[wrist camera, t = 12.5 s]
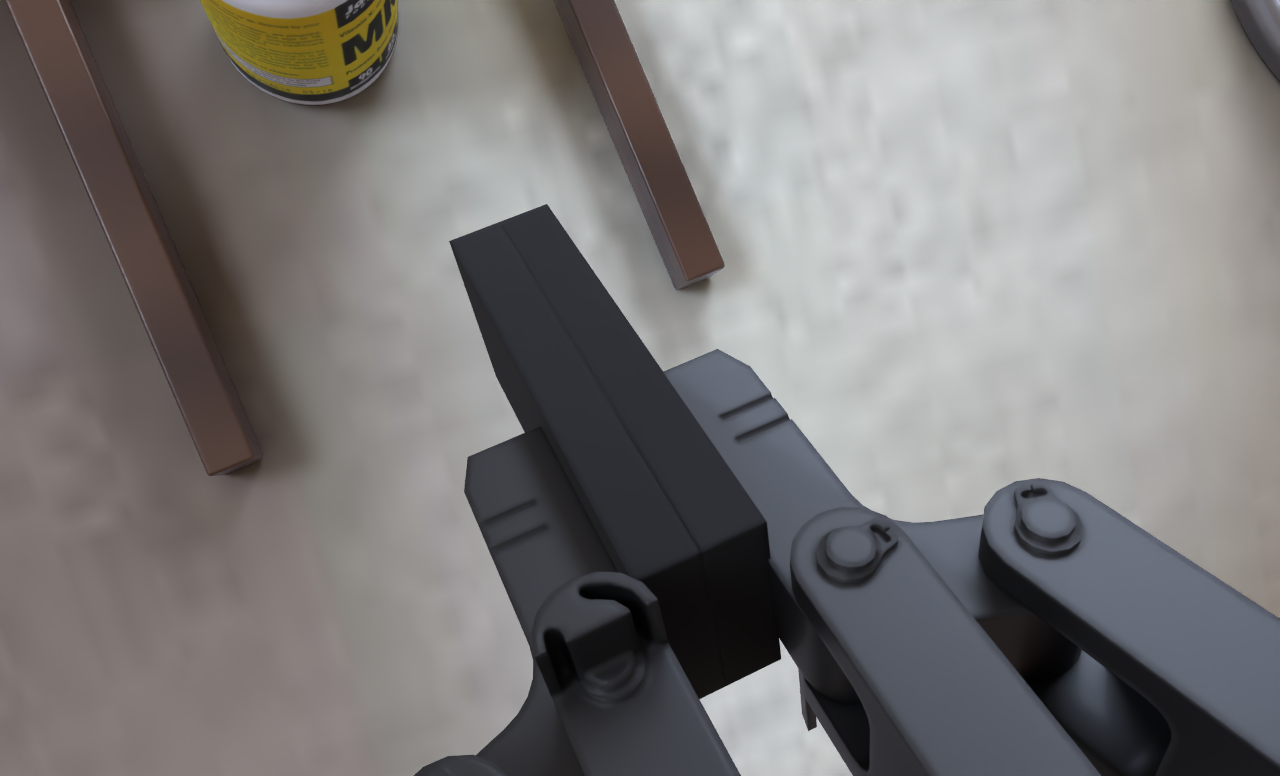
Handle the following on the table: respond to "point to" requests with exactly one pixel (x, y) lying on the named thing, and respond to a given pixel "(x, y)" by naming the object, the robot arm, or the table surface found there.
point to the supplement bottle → (307, 44)
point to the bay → (156, 263)
